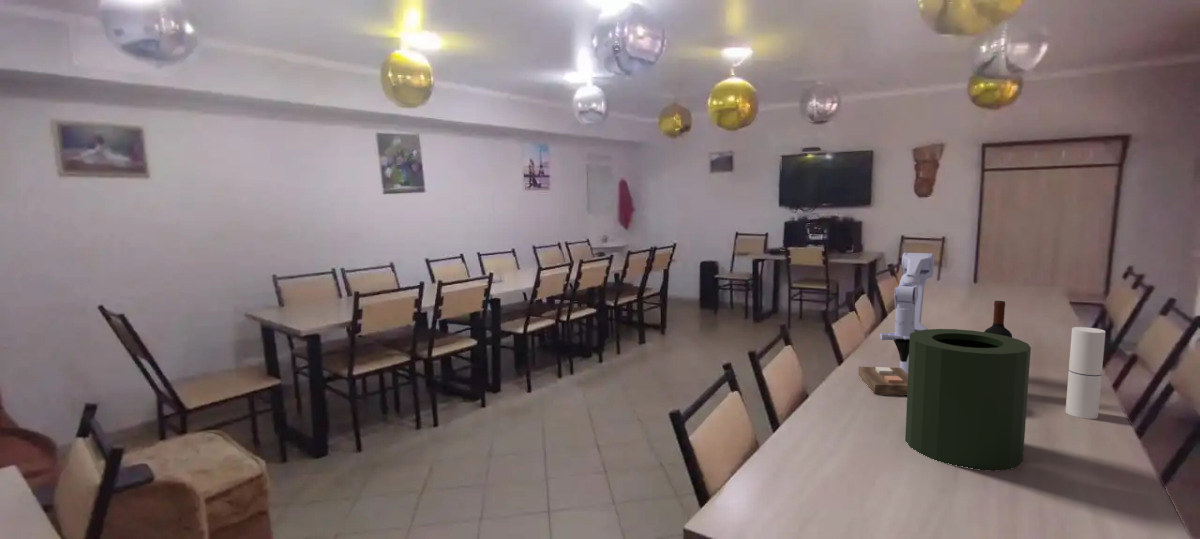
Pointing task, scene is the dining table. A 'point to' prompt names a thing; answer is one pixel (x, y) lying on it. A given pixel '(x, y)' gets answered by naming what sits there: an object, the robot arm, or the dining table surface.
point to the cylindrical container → (1085, 372)
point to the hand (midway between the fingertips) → (903, 361)
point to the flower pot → (967, 397)
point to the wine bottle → (999, 320)
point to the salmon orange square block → (893, 379)
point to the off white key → (884, 370)
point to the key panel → (884, 381)
